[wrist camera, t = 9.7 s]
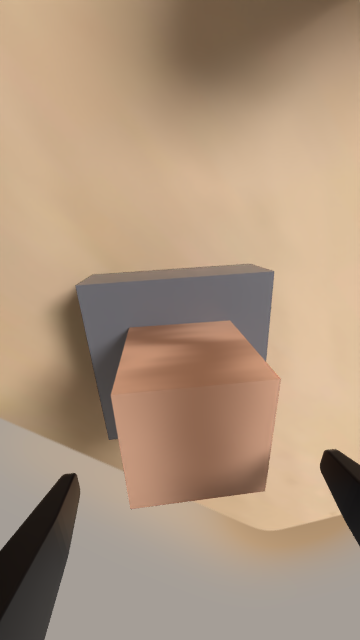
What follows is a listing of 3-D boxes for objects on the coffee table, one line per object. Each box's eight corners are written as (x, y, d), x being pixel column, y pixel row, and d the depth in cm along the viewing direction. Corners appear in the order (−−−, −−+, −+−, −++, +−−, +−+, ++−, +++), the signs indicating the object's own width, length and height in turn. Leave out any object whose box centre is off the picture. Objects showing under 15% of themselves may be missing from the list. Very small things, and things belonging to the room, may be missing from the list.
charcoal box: (117, 401, 20) (108, 439, 16) (94, 273, 16) (75, 285, 12) (241, 387, 21) (260, 421, 17) (247, 263, 17) (274, 271, 13)
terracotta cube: (139, 409, 15) (130, 509, 10) (129, 327, 13) (110, 395, 8) (226, 401, 16) (265, 490, 10) (230, 320, 14) (280, 378, 8)
